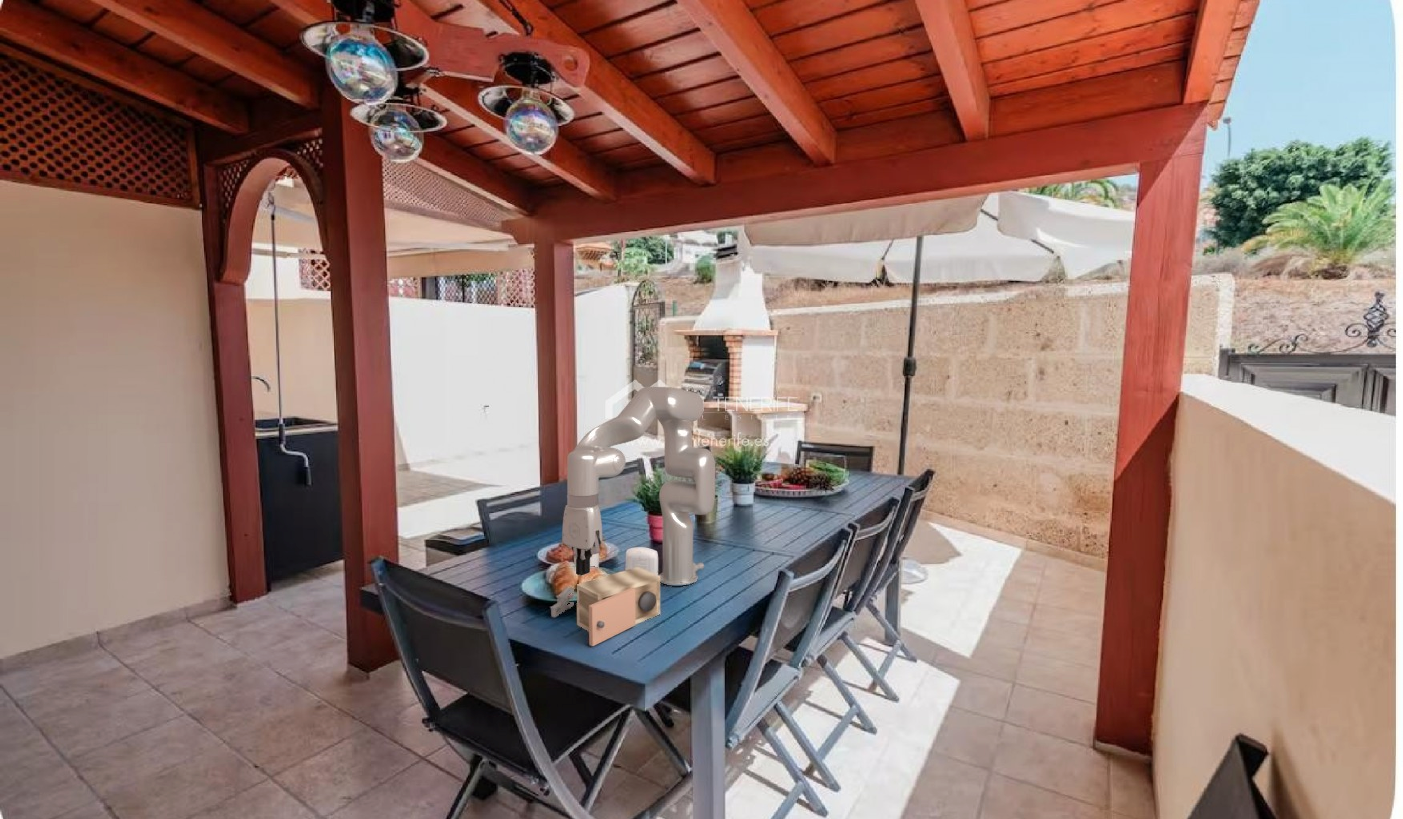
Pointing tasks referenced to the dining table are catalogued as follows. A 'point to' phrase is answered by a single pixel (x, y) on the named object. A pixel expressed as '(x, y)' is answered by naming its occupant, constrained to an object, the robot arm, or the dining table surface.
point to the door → (611, 616)
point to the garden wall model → (562, 602)
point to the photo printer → (642, 559)
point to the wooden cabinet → (614, 584)
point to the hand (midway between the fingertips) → (583, 573)
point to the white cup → (592, 560)
